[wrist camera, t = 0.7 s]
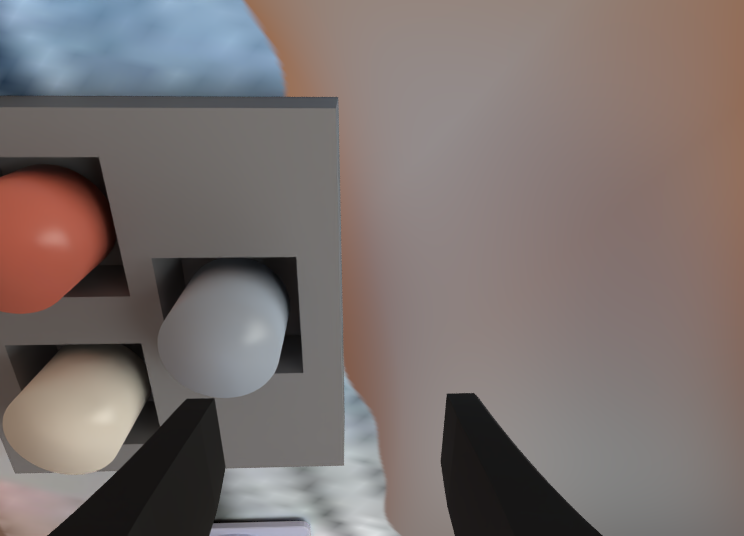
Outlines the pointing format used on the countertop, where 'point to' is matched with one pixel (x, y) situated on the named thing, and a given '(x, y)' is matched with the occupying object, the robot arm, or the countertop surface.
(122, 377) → the button ivory
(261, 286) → the button slate
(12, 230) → the button red
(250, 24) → the countertop surface
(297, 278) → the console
